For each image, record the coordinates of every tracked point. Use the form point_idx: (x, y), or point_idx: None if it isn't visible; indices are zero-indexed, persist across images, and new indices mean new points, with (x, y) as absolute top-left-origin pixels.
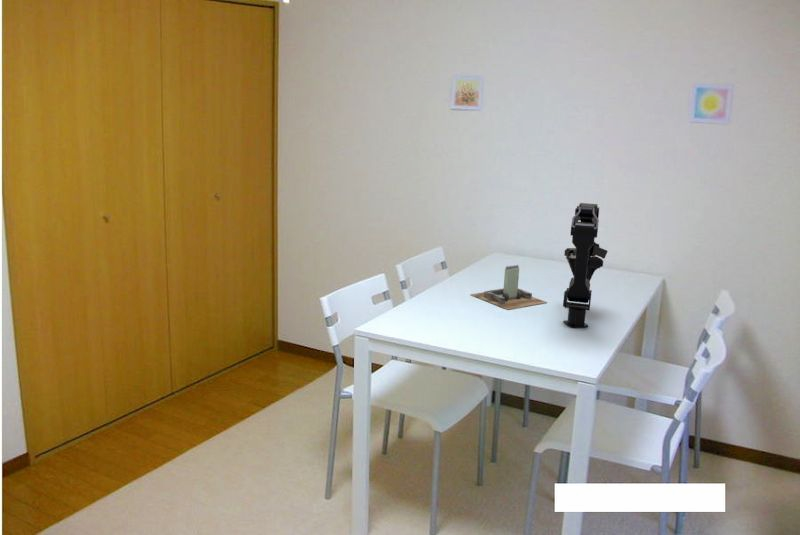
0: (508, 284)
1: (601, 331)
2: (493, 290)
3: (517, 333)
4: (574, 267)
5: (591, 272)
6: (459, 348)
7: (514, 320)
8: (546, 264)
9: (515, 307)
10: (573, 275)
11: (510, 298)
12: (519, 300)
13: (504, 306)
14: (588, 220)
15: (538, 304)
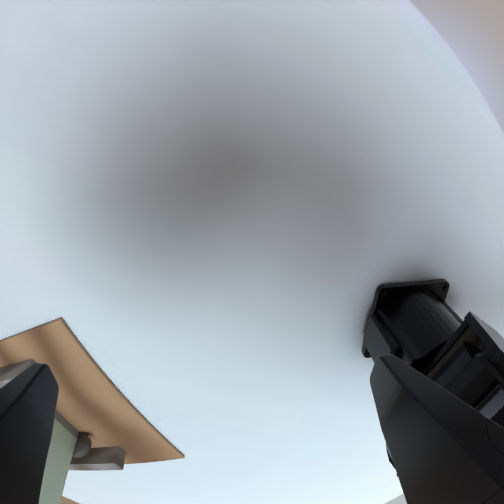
0: (62, 477)
1: (489, 247)
2: None
3: (386, 454)
4: (16, 488)
5: (498, 466)
6: (397, 495)
7: (291, 458)
8: None
9: (160, 439)
10: (49, 404)
11: (65, 424)
12: (65, 401)
13: (151, 455)
14: None
15: (94, 361)
